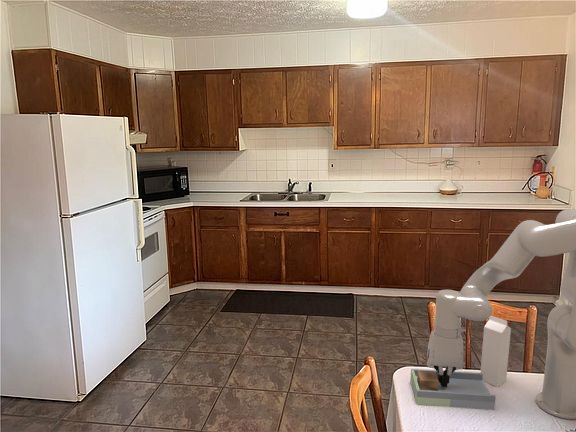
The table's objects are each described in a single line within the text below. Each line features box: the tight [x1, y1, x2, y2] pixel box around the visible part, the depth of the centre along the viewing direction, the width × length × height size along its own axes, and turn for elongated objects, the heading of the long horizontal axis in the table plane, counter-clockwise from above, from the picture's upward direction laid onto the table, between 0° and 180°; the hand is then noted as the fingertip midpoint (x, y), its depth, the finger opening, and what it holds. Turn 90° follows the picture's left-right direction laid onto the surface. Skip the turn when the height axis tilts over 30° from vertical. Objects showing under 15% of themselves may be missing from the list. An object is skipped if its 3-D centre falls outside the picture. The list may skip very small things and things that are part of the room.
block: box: [417, 371, 439, 391], centre depth 138 cm, size 6×6×4 cm
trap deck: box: [410, 368, 496, 411], centre depth 138 cm, size 22×13×4 cm, turn 83°
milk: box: [479, 315, 512, 388], centre depth 144 cm, size 6×6×22 cm
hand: (443, 384), depth 138 cm, fingers closed
